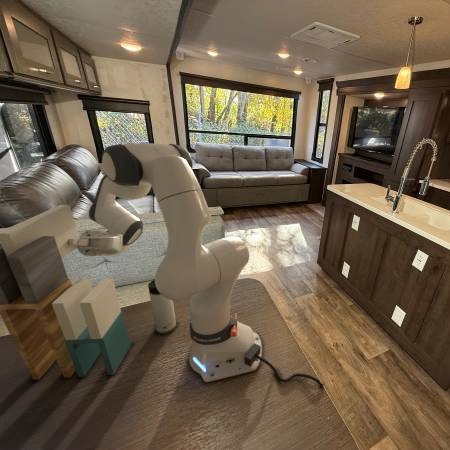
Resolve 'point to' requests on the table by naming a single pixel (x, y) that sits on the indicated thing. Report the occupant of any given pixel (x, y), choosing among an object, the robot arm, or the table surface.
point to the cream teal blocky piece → (92, 324)
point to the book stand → (35, 304)
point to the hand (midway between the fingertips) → (62, 241)
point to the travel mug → (161, 310)
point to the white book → (42, 230)
